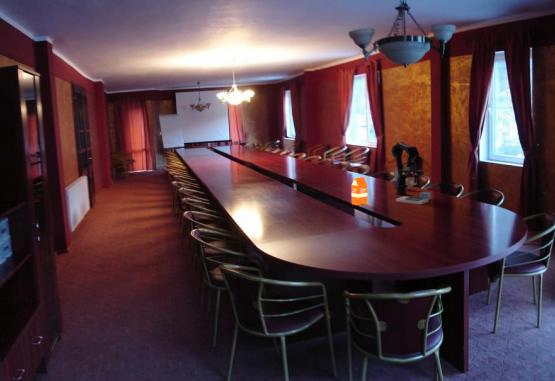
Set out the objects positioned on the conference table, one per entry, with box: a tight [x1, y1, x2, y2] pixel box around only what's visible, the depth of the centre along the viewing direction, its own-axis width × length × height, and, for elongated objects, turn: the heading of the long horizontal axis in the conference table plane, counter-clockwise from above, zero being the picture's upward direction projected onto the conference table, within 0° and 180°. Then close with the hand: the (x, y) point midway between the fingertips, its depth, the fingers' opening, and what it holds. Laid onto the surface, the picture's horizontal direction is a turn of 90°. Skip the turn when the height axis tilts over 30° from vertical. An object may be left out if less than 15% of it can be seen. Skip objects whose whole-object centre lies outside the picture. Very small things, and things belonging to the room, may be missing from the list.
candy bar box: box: [393, 169, 410, 190], centre depth 408 cm, size 11×5×16 cm, turn 62°
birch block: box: [406, 177, 418, 186], centre depth 368 cm, size 6×6×5 cm
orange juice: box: [350, 176, 368, 206], centre depth 354 cm, size 8×9×20 cm
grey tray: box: [395, 195, 429, 205], centre depth 357 cm, size 20×12×3 cm, turn 47°
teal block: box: [418, 191, 432, 201], centre depth 364 cm, size 6×6×5 cm
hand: (411, 183), depth 368 cm, fingers closed on birch block, 6 cm apart
